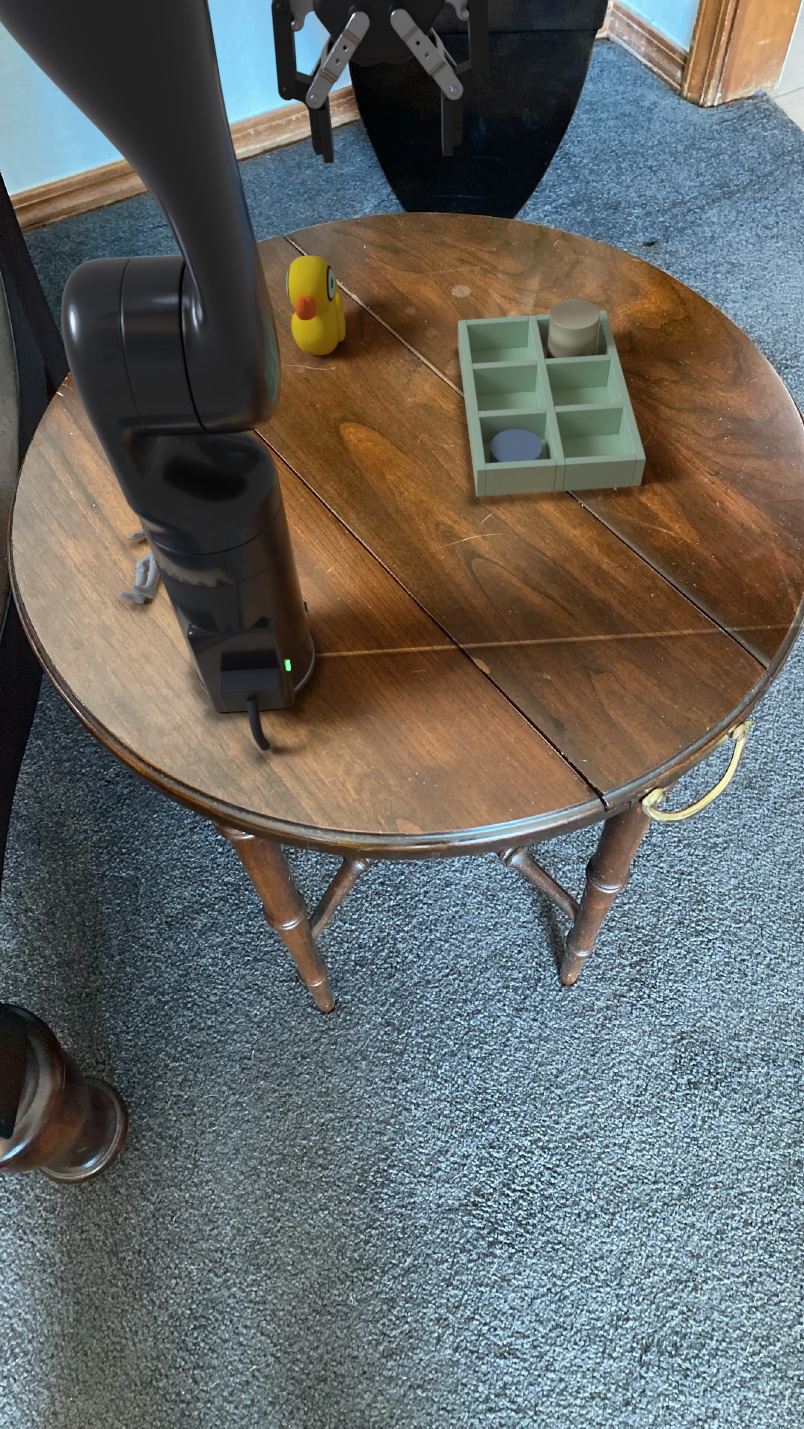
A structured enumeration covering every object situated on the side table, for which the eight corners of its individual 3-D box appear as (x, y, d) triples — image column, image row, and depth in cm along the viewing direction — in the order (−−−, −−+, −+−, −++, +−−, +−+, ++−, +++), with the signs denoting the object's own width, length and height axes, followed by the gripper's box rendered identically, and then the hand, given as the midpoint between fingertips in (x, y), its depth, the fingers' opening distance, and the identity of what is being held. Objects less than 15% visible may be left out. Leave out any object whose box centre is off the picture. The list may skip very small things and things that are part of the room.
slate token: (543, 479, 86) (545, 462, 84) (491, 483, 86) (492, 465, 84) (537, 444, 88) (539, 427, 87) (487, 447, 88) (487, 430, 87)
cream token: (599, 360, 92) (604, 326, 89) (550, 363, 92) (553, 329, 89) (591, 330, 94) (596, 296, 91) (544, 333, 94) (547, 300, 91)
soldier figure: (103, 604, 82) (134, 477, 85) (156, 622, 85) (184, 499, 88) (139, 584, 76) (172, 448, 79) (195, 605, 79) (224, 473, 82)
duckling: (339, 384, 95) (328, 291, 87) (286, 383, 96) (270, 290, 88) (354, 314, 102) (345, 221, 93) (304, 313, 102) (290, 221, 94)
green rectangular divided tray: (601, 342, 97) (606, 309, 94) (639, 490, 85) (646, 458, 82) (458, 352, 97) (458, 319, 94) (476, 501, 86) (477, 470, 83)
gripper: (488, -164, 59) (482, 124, 72) (254, -148, 59) (291, 136, 72) (498, -124, 54) (490, 174, 68) (245, -107, 55) (287, 186, 68)
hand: (387, 154), depth 70 cm, fingers open, 8 cm apart
